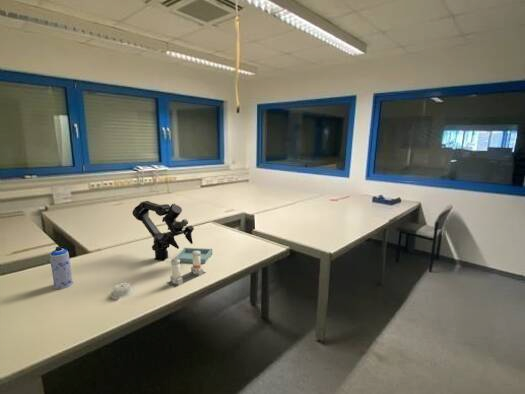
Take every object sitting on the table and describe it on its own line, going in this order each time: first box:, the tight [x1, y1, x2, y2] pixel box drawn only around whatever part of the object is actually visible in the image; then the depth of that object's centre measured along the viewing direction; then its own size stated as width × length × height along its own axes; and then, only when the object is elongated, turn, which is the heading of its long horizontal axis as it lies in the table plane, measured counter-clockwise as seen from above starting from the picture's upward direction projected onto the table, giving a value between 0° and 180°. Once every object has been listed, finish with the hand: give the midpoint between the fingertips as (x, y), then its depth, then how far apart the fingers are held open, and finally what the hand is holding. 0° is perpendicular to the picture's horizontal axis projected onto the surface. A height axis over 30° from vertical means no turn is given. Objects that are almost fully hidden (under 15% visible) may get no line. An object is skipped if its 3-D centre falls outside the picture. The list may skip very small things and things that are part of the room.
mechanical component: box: [110, 282, 135, 301], centre depth 132 cm, size 10×4×10 cm
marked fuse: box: [192, 251, 202, 275], centre depth 151 cm, size 4×4×12 cm
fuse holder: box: [166, 265, 207, 288], centre depth 147 cm, size 7×20×4 cm, turn 142°
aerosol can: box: [49, 245, 74, 290], centre depth 138 cm, size 8×8×20 cm
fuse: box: [170, 257, 182, 284], centre depth 141 cm, size 4×4×12 cm
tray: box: [174, 247, 213, 264], centre depth 172 cm, size 18×16×4 cm
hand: (185, 246), depth 156 cm, fingers open, 9 cm apart
